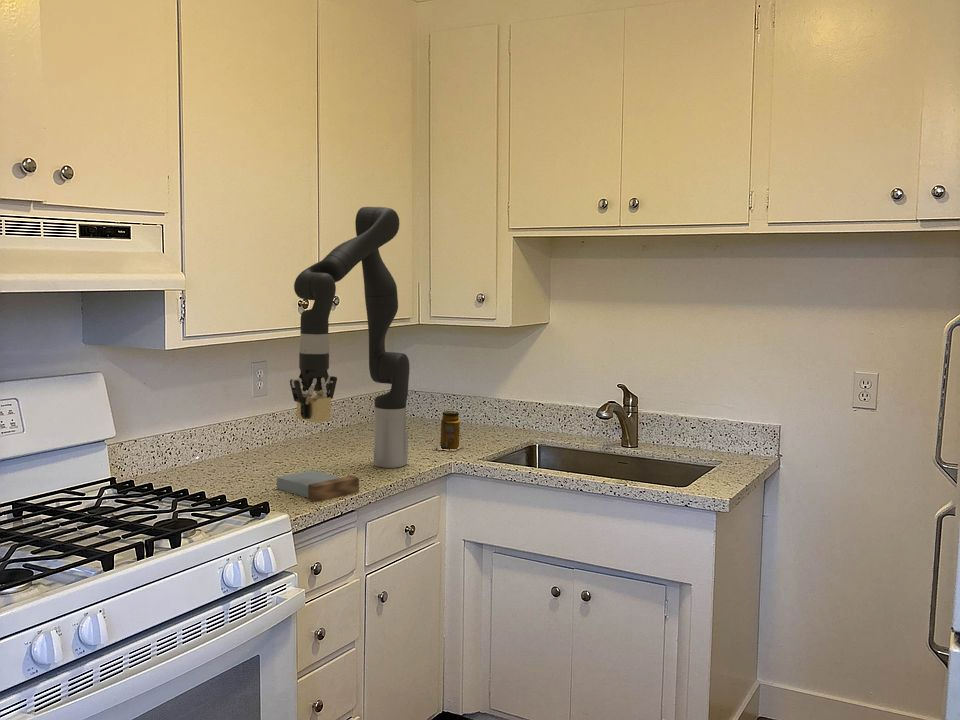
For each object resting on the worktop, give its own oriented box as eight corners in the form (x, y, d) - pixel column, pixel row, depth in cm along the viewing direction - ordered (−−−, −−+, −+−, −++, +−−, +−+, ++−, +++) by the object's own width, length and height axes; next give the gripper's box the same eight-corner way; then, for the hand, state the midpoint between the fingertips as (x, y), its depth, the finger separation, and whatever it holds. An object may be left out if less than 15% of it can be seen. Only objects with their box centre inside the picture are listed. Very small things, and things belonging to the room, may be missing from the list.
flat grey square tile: (313, 480, 241) (313, 469, 241) (348, 490, 232) (348, 479, 232) (276, 488, 232) (276, 477, 232) (311, 498, 223) (311, 487, 223)
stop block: (351, 490, 233) (351, 475, 233) (358, 492, 231) (359, 477, 231) (308, 500, 222) (308, 484, 222) (315, 502, 220) (316, 486, 220)
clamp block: (310, 416, 234) (310, 393, 234) (330, 420, 229) (330, 397, 229) (296, 418, 231) (296, 395, 230) (316, 422, 226) (317, 399, 225)
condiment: (463, 447, 292) (464, 411, 291) (454, 452, 284) (455, 415, 283) (442, 445, 294) (443, 409, 293) (432, 450, 286) (433, 413, 285)
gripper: (301, 354, 221) (300, 422, 222) (345, 350, 231) (344, 416, 233) (282, 351, 225) (281, 418, 227) (326, 348, 236) (325, 412, 238)
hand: (313, 417), depth 230 cm, fingers closed on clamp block, 4 cm apart
